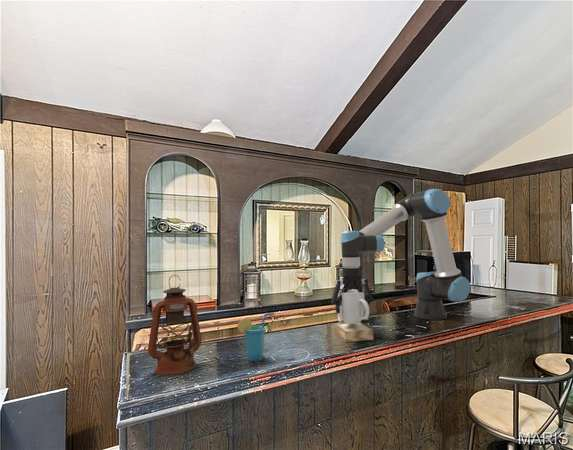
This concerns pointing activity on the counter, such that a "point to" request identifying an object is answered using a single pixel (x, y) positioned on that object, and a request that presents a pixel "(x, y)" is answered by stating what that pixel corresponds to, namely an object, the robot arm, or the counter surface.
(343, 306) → the mug
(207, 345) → the counter surface
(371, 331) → the pedestal
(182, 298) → the lantern
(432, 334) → the counter surface
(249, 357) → the cup
